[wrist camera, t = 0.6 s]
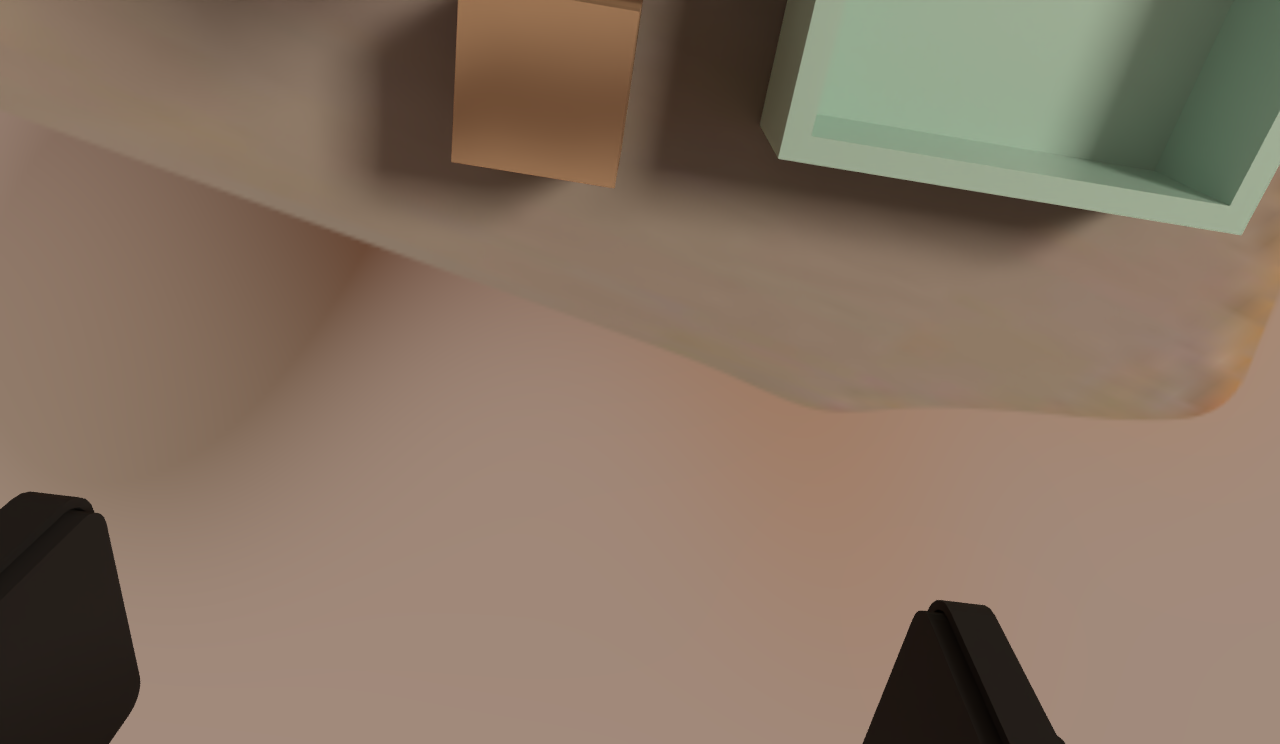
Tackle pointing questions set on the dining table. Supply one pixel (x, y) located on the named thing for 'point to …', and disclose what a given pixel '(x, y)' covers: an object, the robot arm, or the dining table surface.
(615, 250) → the dining table surface
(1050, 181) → the tote
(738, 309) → the dining table surface
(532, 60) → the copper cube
